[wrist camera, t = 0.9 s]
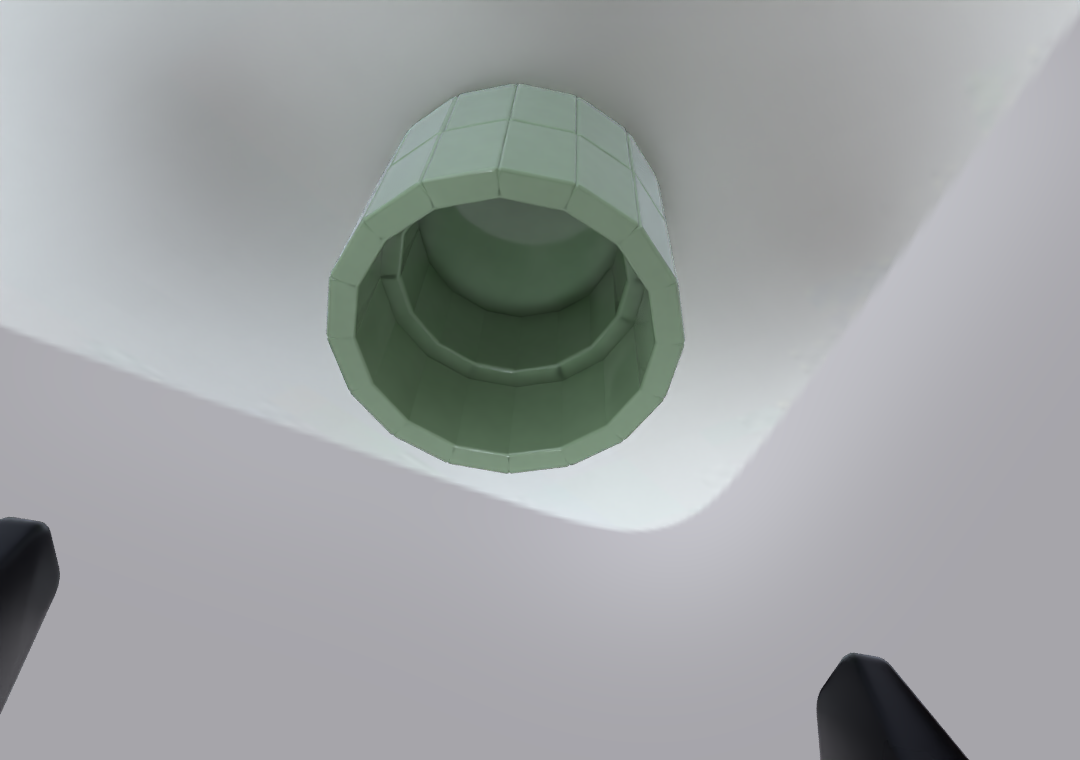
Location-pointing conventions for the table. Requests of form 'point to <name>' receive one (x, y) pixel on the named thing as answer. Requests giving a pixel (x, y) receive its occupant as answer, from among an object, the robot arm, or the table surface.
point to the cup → (510, 285)
